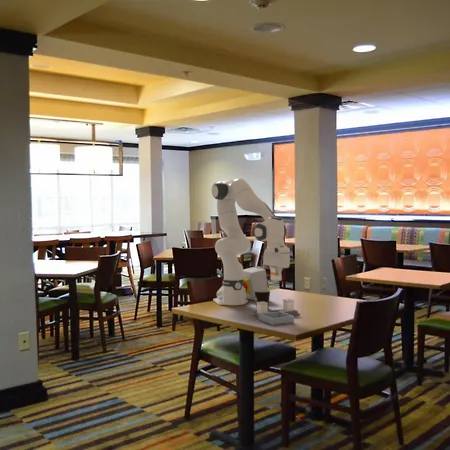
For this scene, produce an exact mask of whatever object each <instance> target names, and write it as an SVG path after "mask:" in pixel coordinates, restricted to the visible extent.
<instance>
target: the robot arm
mask: <svg viewBox="0 0 450 450" xmlns="http://www.w3.org/2000/svg"><path fill="white" fill-rule="evenodd" d="M211 187H212V188H211V193H212V196H213V198H214V199H215V200H216V209H217V210H216V211H217V218H218V222H219V227H220V230H222V231H223V232H224V233H225V235H226V237H225V236H224V237H222V238H220V239H217V241H216V242H215V244H214V249H215V252H216V254H217V255H218V256H219V257H220V258H221V262H222V264H223V265H222V266H223V279H222V286H221V287H220V288H219V289H218V290H217V292H216V298H213V301H214V302H215V303H216V304H217V305H219V306H222V305H223V306H242V305H245V304H246V303H248V302H249V299H247V298H246V291H245V288H244V287H243V285H244V279H243V269H244V266H243V265H242V263H240V261H239V258H238V256H239V255H240V256H241V255H244V254H246V253H248V252H249V251H250V250H251V247H252V243H251V240H250V239H249V238H248V237H247V236H246V235H245V234H244V232H243V230H242V227H241V225H240V223H239V218H238V212H237V207H236V205H237V206H238V207H239V209H241V210H242V211H245V212H250V213H254V214H256V215H259V216H261V217H262V218H263V220H264V221H262V222H259V223H257V224H256V225H255V227H254V228H253V233H254V234H253V235H254V237H255V239H256V240H257V241H260V242H266V247H265V249H264V252H263V257H262V259H263V260H262V263H263V265H264V266H269V270H270V271H271V268H270V267H271V266H275V267H278V272H277V276H281V277H282V275H281V272H282V271H283V269H288V268H290V265H291V263H290V261H291V260H290V259H291V256H290V253H291V249H290V247H289V246H287V245H286V244H285V240H284V239H285V237H286V236H287V227H286V225H285V222H284V220H283V218H282V217H280V216H276V215H275V213H274V212H273V210H272V209H271V208H270V207H269V206H268V205H267V203H265V202H264V201H263V200H262V199H261V198H260V197H259V196H258V195H257V194H256V193H255V192H254V190H253V189H252V187H251V186H250V184H249V183H248V182H247V181H246V180H245V179H244V178H235V179H229V180H223V181H216V182H215V183H213V184H212V186H211Z"/></svg>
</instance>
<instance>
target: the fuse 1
mask: <svg viewBox="0 0 450 450" xmlns="http://www.w3.org/2000/svg"><path fill="white" fill-rule="evenodd" d="M268 311H269V306H268V303H267V302H264V301H262V302H257V308H256V312H257V313H258V314H261V313H268Z"/></svg>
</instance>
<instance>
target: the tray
mask: <svg viewBox="0 0 450 450" xmlns="http://www.w3.org/2000/svg"><path fill="white" fill-rule="evenodd" d="M258 321H259V322H261V323H263V324H266V325H268V326H271V327H275V326H276V327H277V326H283V325H290V324H295V316H292V315H289V314H286V313H284V312H281V311H279V312H270V313H261V314H259V320H258Z"/></svg>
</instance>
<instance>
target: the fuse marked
mask: <svg viewBox="0 0 450 450" xmlns="http://www.w3.org/2000/svg"><path fill="white" fill-rule="evenodd" d="M270 268H271V270H270V278H269V279H270V281H273V282H278V281H279V282H280V281H282V280H283V278H282V272H281V276H277V272H278V267H275V266H271V267H270V266H269V269H270Z"/></svg>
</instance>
